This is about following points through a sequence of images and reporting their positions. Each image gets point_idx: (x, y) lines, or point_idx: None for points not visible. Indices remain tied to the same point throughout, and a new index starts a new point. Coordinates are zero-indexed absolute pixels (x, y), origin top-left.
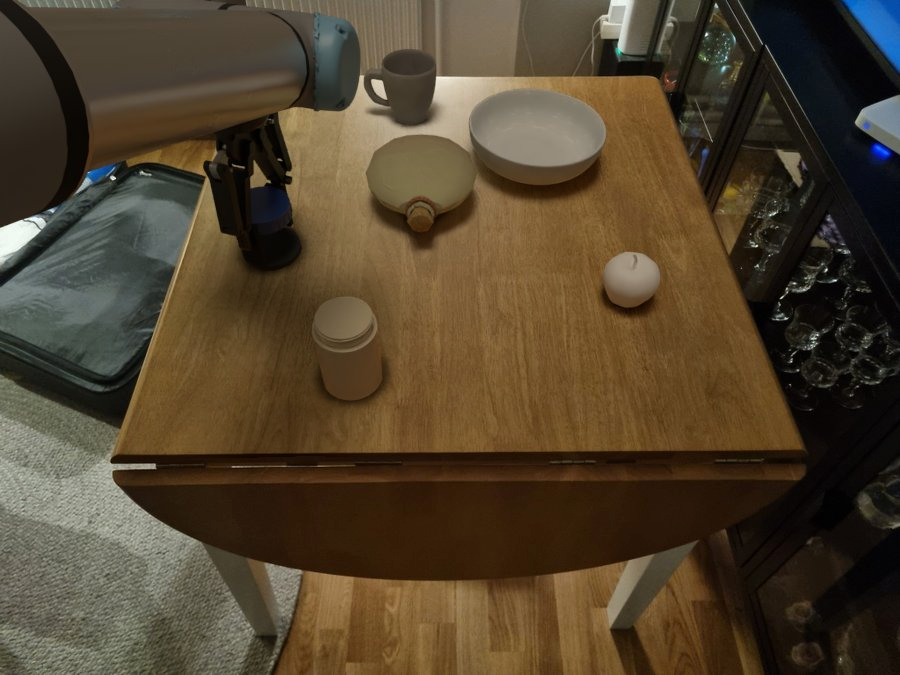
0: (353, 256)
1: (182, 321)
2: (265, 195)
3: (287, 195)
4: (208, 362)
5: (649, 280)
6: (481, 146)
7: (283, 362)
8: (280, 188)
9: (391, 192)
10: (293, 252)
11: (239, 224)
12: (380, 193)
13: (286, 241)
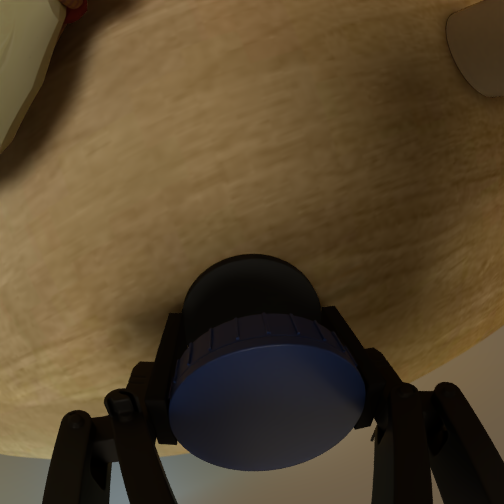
0: (205, 118)
1: (437, 351)
2: (220, 429)
3: (189, 377)
4: (494, 274)
5: None
6: None
7: (490, 166)
8: (163, 407)
9: (15, 42)
10: (257, 268)
11: (458, 409)
12: (15, 86)
13: (226, 301)
